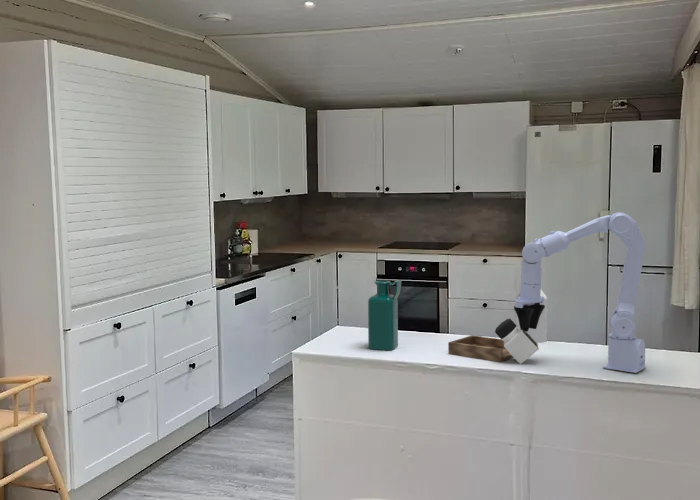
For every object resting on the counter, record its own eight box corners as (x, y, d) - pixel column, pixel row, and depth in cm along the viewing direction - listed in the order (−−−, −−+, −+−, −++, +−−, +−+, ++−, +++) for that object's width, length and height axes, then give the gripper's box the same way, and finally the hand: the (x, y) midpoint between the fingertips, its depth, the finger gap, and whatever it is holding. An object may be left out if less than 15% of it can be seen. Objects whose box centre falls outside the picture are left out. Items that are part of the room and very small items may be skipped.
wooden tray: (523, 353, 217) (523, 342, 216) (500, 362, 206) (500, 350, 206) (472, 346, 228) (472, 335, 228) (448, 353, 218) (448, 342, 217)
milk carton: (515, 341, 235) (516, 285, 234) (532, 339, 238) (532, 283, 237) (530, 345, 229) (530, 287, 227) (547, 343, 232) (547, 285, 231)
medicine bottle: (539, 349, 202) (510, 318, 203) (520, 365, 203) (492, 334, 204) (537, 344, 209) (509, 314, 210) (519, 359, 210) (491, 329, 211)
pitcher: (366, 350, 224) (366, 281, 223) (374, 344, 232) (373, 278, 231) (396, 351, 221) (396, 282, 220) (403, 346, 229) (402, 279, 228)
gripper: (529, 280, 214) (527, 324, 215) (506, 284, 203) (504, 330, 204) (551, 282, 209) (549, 327, 210) (529, 286, 198) (526, 334, 199)
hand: (528, 329), depth 207 cm, fingers open, 4 cm apart
